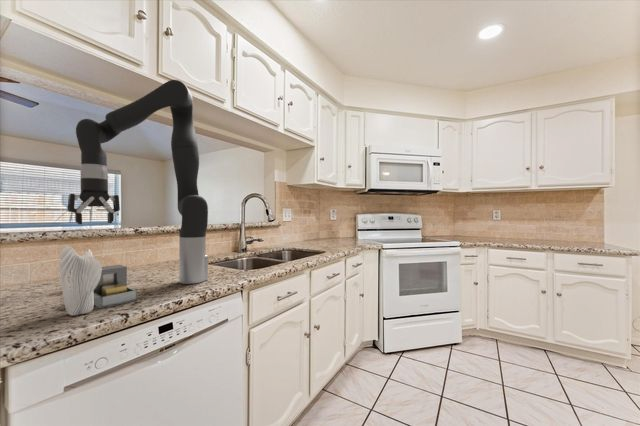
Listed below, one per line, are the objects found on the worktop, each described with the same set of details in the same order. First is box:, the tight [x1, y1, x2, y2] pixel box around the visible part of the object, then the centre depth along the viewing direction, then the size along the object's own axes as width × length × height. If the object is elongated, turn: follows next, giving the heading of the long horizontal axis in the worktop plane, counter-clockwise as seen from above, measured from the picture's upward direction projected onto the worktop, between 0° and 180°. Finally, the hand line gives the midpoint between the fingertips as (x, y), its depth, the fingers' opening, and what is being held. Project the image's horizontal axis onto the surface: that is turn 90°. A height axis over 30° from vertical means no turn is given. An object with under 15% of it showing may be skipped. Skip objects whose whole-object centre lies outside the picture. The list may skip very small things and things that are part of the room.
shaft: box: [103, 273, 114, 285], centre depth 91 cm, size 3×21×8 cm, turn 54°
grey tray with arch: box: [93, 264, 138, 310], centre depth 84 cm, size 9×14×9 cm, turn 54°
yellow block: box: [102, 284, 128, 297], centre depth 82 cm, size 5×4×4 cm
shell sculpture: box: [58, 245, 103, 317], centre depth 73 cm, size 8×8×18 cm
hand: (95, 223), depth 98 cm, fingers open, 8 cm apart
